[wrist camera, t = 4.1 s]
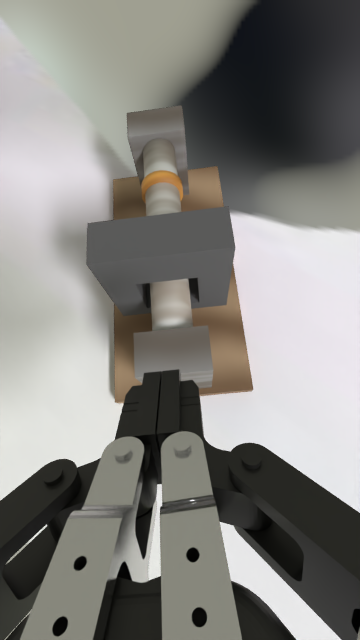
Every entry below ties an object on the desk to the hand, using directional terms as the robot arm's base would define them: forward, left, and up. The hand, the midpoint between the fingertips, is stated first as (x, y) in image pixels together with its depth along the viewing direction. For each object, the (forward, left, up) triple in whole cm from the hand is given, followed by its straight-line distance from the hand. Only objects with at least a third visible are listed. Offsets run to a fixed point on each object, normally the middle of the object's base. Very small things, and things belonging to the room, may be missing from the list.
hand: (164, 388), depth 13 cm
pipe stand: (-5, -13, -15) cm, 20 cm away
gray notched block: (-4, -9, -12) cm, 15 cm away
